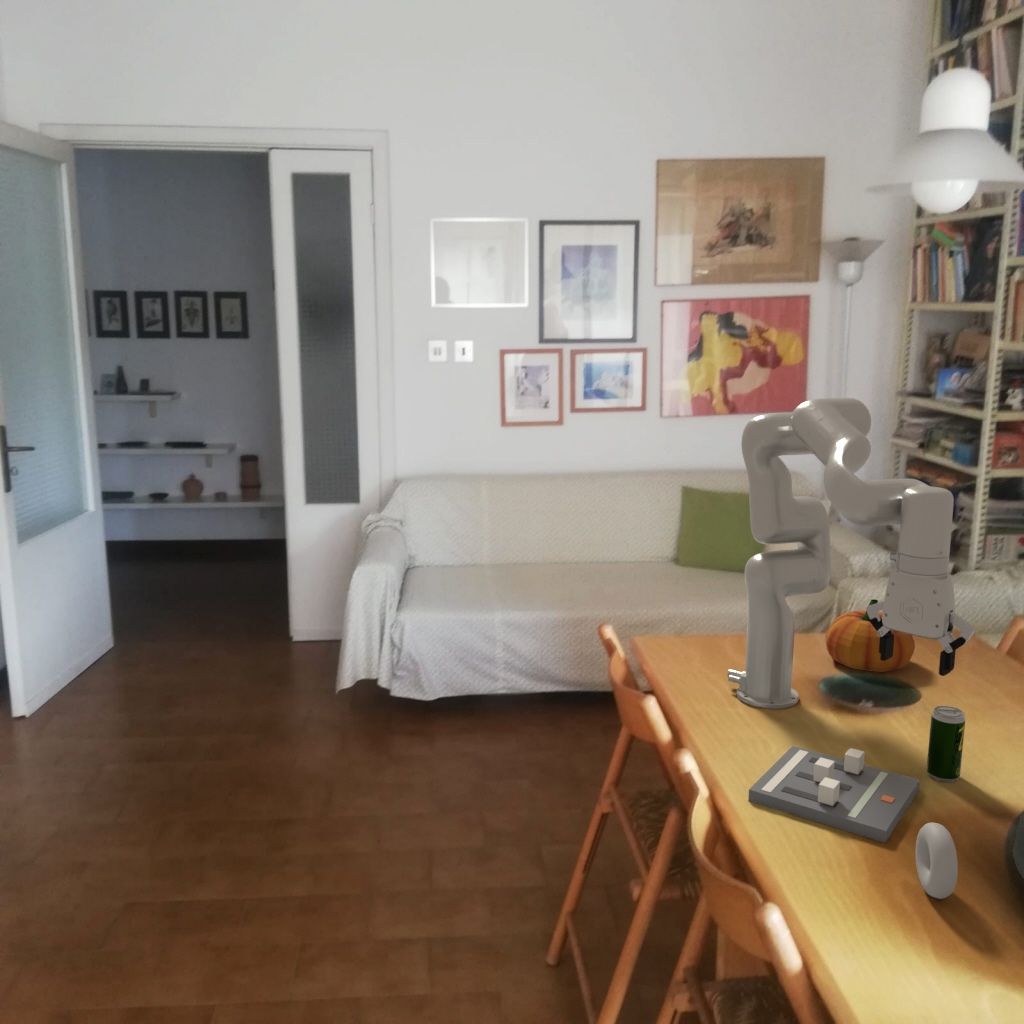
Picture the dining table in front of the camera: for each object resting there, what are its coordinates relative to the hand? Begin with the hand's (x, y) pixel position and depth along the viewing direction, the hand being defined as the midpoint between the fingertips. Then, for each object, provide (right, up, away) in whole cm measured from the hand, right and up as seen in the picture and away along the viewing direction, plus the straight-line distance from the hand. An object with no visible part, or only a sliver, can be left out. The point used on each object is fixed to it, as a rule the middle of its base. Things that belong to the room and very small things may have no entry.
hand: (915, 666), depth 154 cm
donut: (-7, -28, -22) cm, 36 cm away
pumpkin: (+17, -10, +65) cm, 68 cm away
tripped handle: (-13, -20, +5) cm, 24 cm away
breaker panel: (-12, -23, +5) cm, 26 cm away
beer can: (+10, -21, +11) cm, 26 cm away
